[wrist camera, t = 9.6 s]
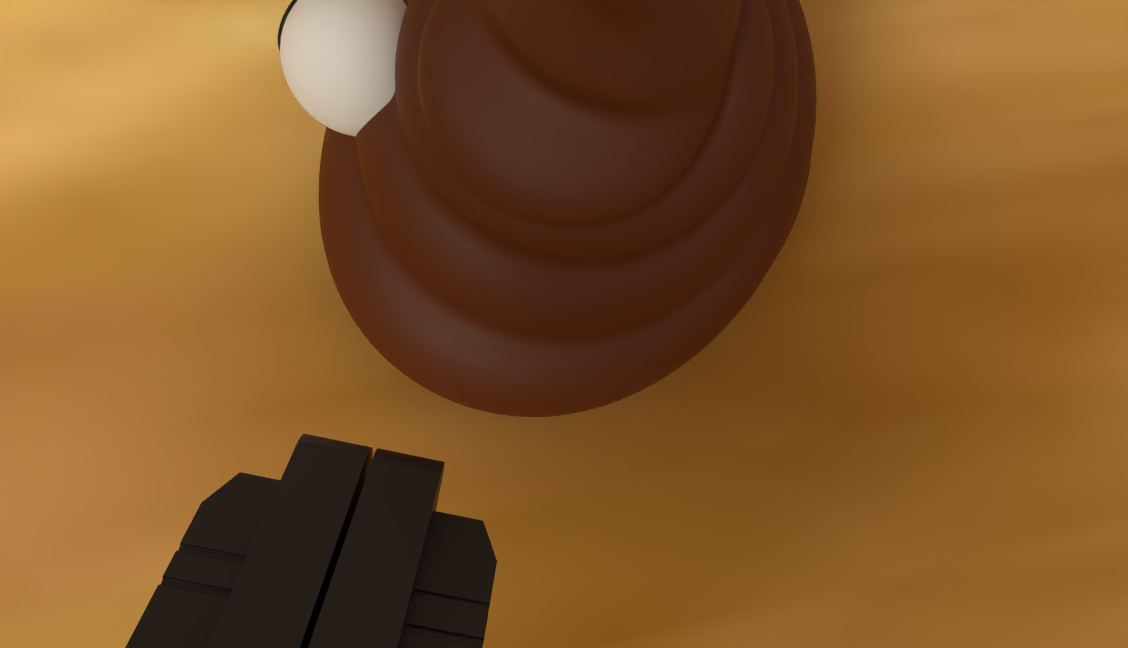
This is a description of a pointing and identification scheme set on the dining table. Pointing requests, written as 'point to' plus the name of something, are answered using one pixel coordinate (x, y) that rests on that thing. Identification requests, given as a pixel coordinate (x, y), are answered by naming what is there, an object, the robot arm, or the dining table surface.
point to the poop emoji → (552, 181)
